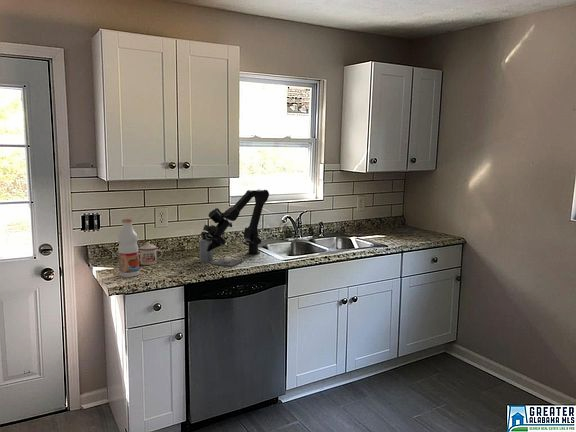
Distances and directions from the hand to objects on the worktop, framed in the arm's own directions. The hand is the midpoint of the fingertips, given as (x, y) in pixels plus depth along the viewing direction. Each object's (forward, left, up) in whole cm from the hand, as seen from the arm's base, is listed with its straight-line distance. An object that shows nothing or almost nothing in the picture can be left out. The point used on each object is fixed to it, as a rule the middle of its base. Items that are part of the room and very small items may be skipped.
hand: (203, 250), depth 265 cm
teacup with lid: (+15, -24, -7) cm, 29 cm away
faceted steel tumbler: (-1, +1, -7) cm, 7 cm away
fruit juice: (+39, -19, -7) cm, 44 cm away
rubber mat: (-2, +14, -7) cm, 15 cm away
